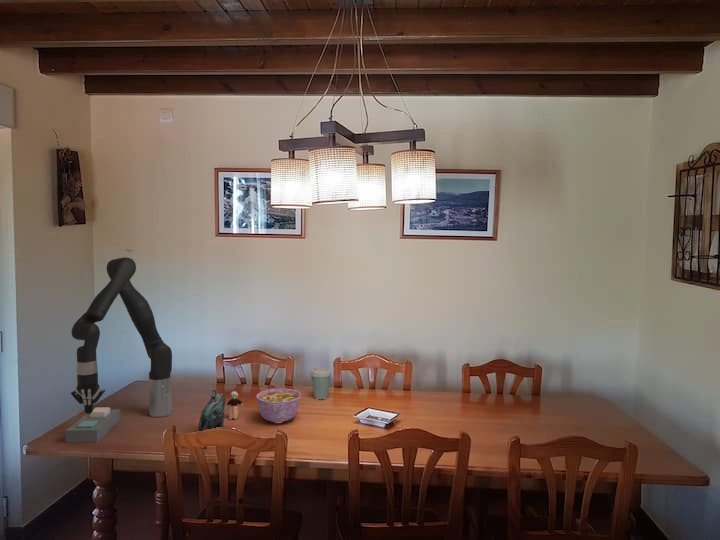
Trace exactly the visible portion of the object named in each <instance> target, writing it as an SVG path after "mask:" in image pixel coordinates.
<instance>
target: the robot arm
mask: <svg viewBox="0 0 720 540" xmlns="http://www.w3.org/2000/svg"><path fill="white" fill-rule="evenodd" d="M136 270H137V264H136V262H135V261H134V260H133V259H132V258H131V257H127V256H126V257H119V258H118V257H117V258H114V259H111V260H109V261H108V262H107V264H106V273H107V275H108V277H109V279H110V281H108V283H107V284H105V286H104V287H103V288H102V290H100V292H98V294H97V295H96V296H95V297H94V299H93V300H92V302H91V303H90V305H89V306H88V308H87V310H86V311H85V312H84V313H83V314H82V315H81V316H79V317H80V318H79V319H77V320H76V322H75V323H74V324H73V326H72V328H71V337H72V338H73V339H75V340H78V341H84V343H83V345H81V346H79V347H77V350H76V370H75V371H76V384H77V385H76V389H74V390H73V391H71V393H70V395H71V396H72V397H73V398H74V399H75V400H76V401H77V402H78V403H79V404H81V405H83V406H84V407H83V408H84V414H85V415H86V414H91V413H92V411H93V409H94V404H96V403H97V402H98V401H99V400H100V399H101V397H102V396H103V395H104V394H105V392H106V389H102V388H101V387H100V384H99V372H98V371H99V369H98V368H99V367H98V362H97V360H98V359H97V348H98V345H99V344H98V343H99V340H100V336H101V329H100V327H99V326H98V325H97V324H96V323H98V322H102V321H103V320H104V318H105V317H106V315H107V314H108V311H109V310H110V308H111V306H112V305H113V303H114V302H115V300H116V298H117V297H118V296H120V298H121V300H122V302H123V304H124V307H125V308H126V311H127V314H128V315H129V317H130V320H131V322H132V323H133V325H134V327H135V329H136V330H137V332H138V334H139V335H140V337H141V339H142V342H143V345H144V347H145V351H146V354H147V356H148V358H149V359H150V370H149V372H148V391H149V392H148V397H149V399H148V404H149V406H148V407H149V411H148V413H149V416H150V417H153V418H162V417H168V416H170V415H171V413H172V412H173V391H172V390H171V382H172V381H171V373H172V369H173V367H172V366H173V351H172V349H171V347H170V346H169V345H167V344H166V343H165V342H164V340H163V339H162V337H161V335H160V333H159V332H158V329H157V326H156V320H155V315H154V313H153V310H152V308H151V306H150V304H149V302H148V300H147V298H145V297H144V295H142V294H141V293H140V292H139V291H138V289H137V288H135V287H134V285H133V283H132V281H131V278H132V277H134V274H135V273H136ZM96 393H97V396H96V397H95V394H96Z"/></svg>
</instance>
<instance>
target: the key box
mask: <svg viewBox="0 0 720 540" xmlns="http://www.w3.org/2000/svg"><path fill="white" fill-rule="evenodd" d="M83 421H99V423H98V424H97V425H96V426H95V427H93V428H77V426H78V425H79V424H80V423H81V422H83ZM120 421H121V410H120V409H117V408H116V409H110V414H108V415H107V416H106V417H90V414H86V413H85V414H84V415H83V416H82V417H80V418H79V419H78V420H77V421H76V422H75V423H73V424H72V425H70V427H68V428H67V429H65V443H67V444H68V443H73V444H74V443H76V444H77V443H78V444H80V443H99V441H100V440H101V439H102V438H103V437H104V436H106V434H108V433H109V432H110V431H111V430H112V429H113V428H114V427H115V426H116V425H117V424H118V423H119V422H120ZM114 425H115V426H114ZM113 426H114V427H113ZM112 427H113V428H112ZM111 428H112V429H111ZM110 429H111V430H110ZM109 430H110V431H109Z"/></svg>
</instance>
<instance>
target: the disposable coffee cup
mask: <svg viewBox="0 0 720 540" xmlns="http://www.w3.org/2000/svg"><path fill="white" fill-rule="evenodd" d="M331 375H332V372H331V371H330V369H328V368H324V367H314V368H312V369H311V370H310V376H311V385H312V391H313V397H314V399H315V398H318V399H324V398H327V399H328V395H329V389H330V383H331V378H332V377H331Z"/></svg>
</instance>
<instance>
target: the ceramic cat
mask: <svg viewBox="0 0 720 540" xmlns="http://www.w3.org/2000/svg"><path fill="white" fill-rule="evenodd" d="M225 406H226V397H225V394H224V393H220V392H219V391H218V390H217V389H213V390H212V391H211V392H210V399H209V401H208V402H207V403H205V405H204V407H203V409H202V411H201V414H200V417H199V423H198V432H199V431H203V430H206V429H212V428H216V427H223V428H225V427H224V426H225V425H224V420H225Z"/></svg>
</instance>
